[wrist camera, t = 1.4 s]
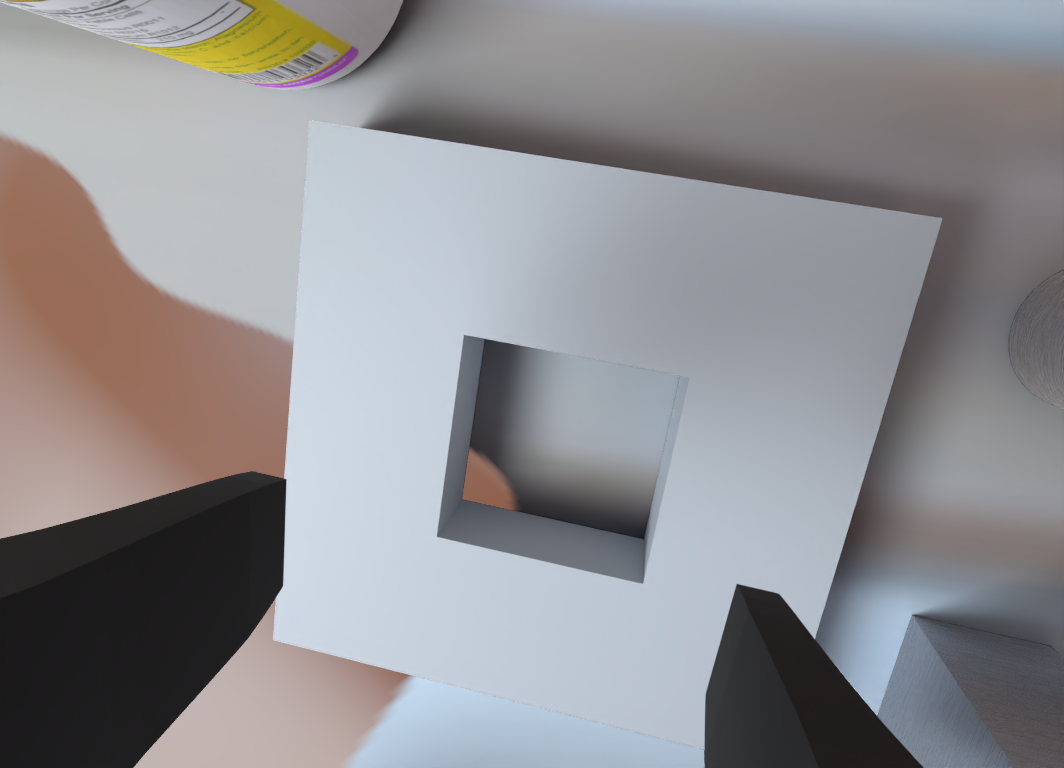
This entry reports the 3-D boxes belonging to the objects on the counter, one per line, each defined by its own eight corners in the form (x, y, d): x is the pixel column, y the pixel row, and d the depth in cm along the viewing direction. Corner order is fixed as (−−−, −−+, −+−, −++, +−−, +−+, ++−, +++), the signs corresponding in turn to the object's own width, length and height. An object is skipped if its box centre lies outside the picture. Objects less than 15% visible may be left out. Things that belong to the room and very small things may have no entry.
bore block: (760, 702, 20) (775, 768, 18) (314, 593, 22) (273, 639, 19) (900, 218, 17) (942, 218, 14) (353, 133, 18) (309, 119, 16)
